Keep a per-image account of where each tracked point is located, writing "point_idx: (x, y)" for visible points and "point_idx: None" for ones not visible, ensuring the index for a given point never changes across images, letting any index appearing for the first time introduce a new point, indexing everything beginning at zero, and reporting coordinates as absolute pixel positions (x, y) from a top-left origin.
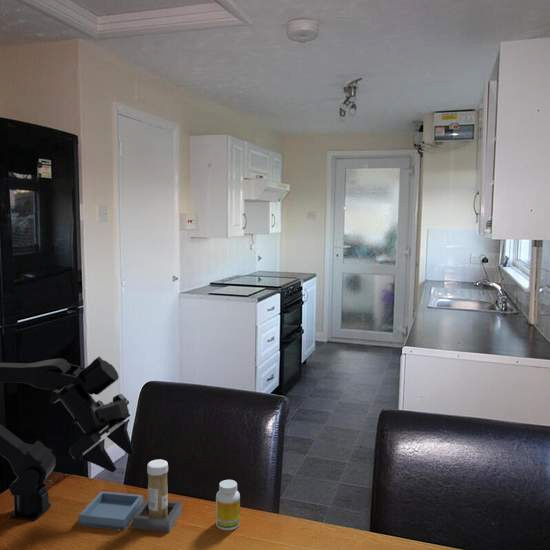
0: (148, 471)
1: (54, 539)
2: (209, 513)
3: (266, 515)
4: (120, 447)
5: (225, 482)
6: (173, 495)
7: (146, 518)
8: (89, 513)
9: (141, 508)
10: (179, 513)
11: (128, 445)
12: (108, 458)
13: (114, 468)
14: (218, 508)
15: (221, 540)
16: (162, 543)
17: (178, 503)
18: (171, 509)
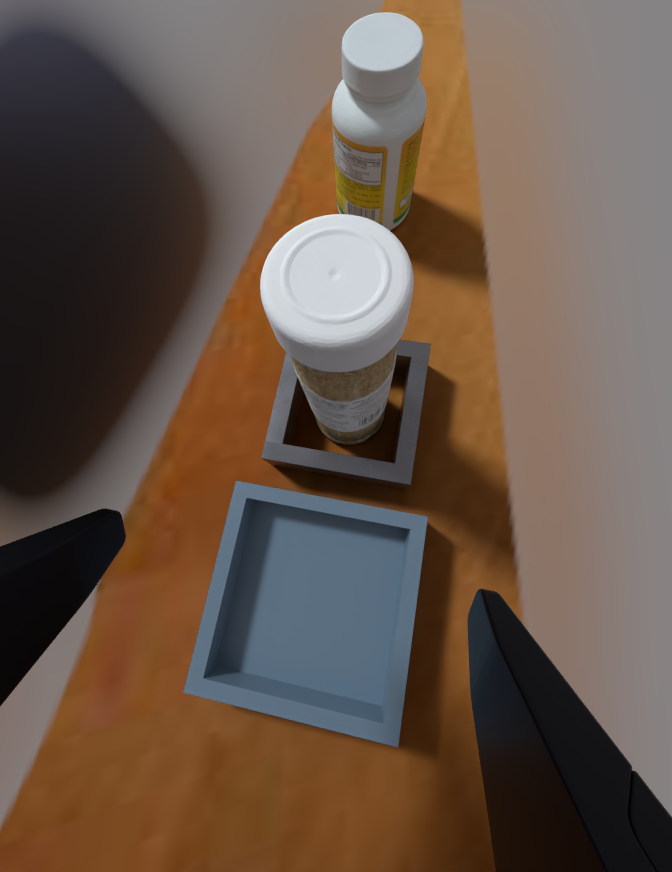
0: (386, 348)
1: None
2: None
3: (325, 120)
4: (30, 665)
5: (369, 51)
6: (187, 389)
7: (415, 429)
8: (334, 697)
9: (342, 464)
10: None
11: (43, 568)
12: (591, 739)
13: (507, 607)
14: (406, 165)
15: (457, 214)
16: (487, 372)
17: None
18: None
